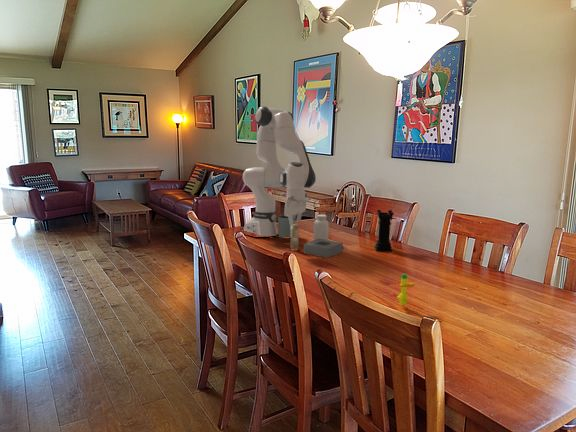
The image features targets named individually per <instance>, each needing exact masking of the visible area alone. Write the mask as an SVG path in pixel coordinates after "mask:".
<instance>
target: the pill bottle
mask: <svg viewBox="0 0 576 432" xmlns="http://www.w3.org/2000/svg"><path fill="white" fill-rule="evenodd" d="M329 225H330V223H329V221H328V220H327V215H326V214H317V215H316V220H314V222H313V238H312V241H314V240H317V239H323V240H329V227H330V226H329Z"/></svg>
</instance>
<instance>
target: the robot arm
mask: <svg viewBox="0 0 576 432" xmlns="http://www.w3.org/2000/svg"><path fill="white" fill-rule="evenodd" d="M254 120H255V123H256V124H257V125H258V126H259V127H258V129H257V130H258V131H257V136H256V157H257V159H258V160H260V161H261V162H263V163H265V164H266V165H267V166H266V167H265V166H263V167H255V166H254V167H248V168H246V169H245V170H244V171H243V173H242V181H243V183H244V184H245V186H247V187H248V188H249V189H250V190H251V192H252V193H253V196H254V200H255V211H253V212H251V213H252V215H253V217H251V218H250V219H249V220H247V221H246V222H245V224H244V227H243V230H244V231H247V232H251V233H254V234H257V235H260V236H274V235H277V234H278V228H277V224H276V223H277V222H276V220H277V219H276V218H277V211H276V198H275V196H274V195H273V194H272V193H269V192H267V191H266V189H265V188H280V187H284V188H286V199H287V200H286V201H285V203H284V210H283V211H284V212H283V215H285V216H287V217H288V219H289V224H290V225H293V224H294V221H293V216H296V215H297V216H296V222H297V223H300V222H301V221H302V216H303V213H305V212H306V209H307V198H308V193H306V191H305V190H306V188H307V189H310V188H311V187H312V186H313V185H314V184H315V183H316V178H317V177H316V174H315V171H314V168H313V166H312V164H311V161H310V158H309V154H308V151H307V149H306V148H307V147H306V146H305V143H304V142H303V141H302V140H301V139H300V138H299V136H298V135H297V133H296V129H295V123H294V114H293V113H291V112H290V111H289V110H284V109H280V108H277V107H269V106H268V107H267V106H260V107H258V108H257V109H256V111H255V114H254ZM277 145H278V146H279V147H280V148H282V149H283V150H286V151H289V152H292V153H293V154H295V155H296V156H297V157H298V159H299V162H298V161H291V162H289V163H288V164H287V167H286V168H284V167H283V166H282V165H281V164H280V162H279V160H278V157H277Z"/></svg>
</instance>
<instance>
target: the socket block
mask: <svg viewBox="0 0 576 432" xmlns="http://www.w3.org/2000/svg"><path fill="white" fill-rule="evenodd" d="M343 246H344V245H343V242H339V241H336V240H335V241H334V240H329V239H328V240H323V239H317V240H314V241H313V240H312V241H308V242H305V243H303V253H304V252H305V253H304V254H307V253H309V254H308V255H312V254H313V256H317V255H318V256H317V257H323V258H328V259H329V258H332V257H333V256H335V255H338V254H341V253H342V252H343Z"/></svg>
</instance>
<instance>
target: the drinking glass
mask: <svg viewBox="0 0 576 432" xmlns="http://www.w3.org/2000/svg"><path fill="white" fill-rule="evenodd" d="M296 220H297V216H296V215H294V216H293V221H294V224H296ZM277 227H278V228H277V234H278V235H279V236H280V237H291V225H290V224H289V219H288V217H287V216H285V215H284V214H279V215H278V216H277ZM279 236H278V237H279Z"/></svg>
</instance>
